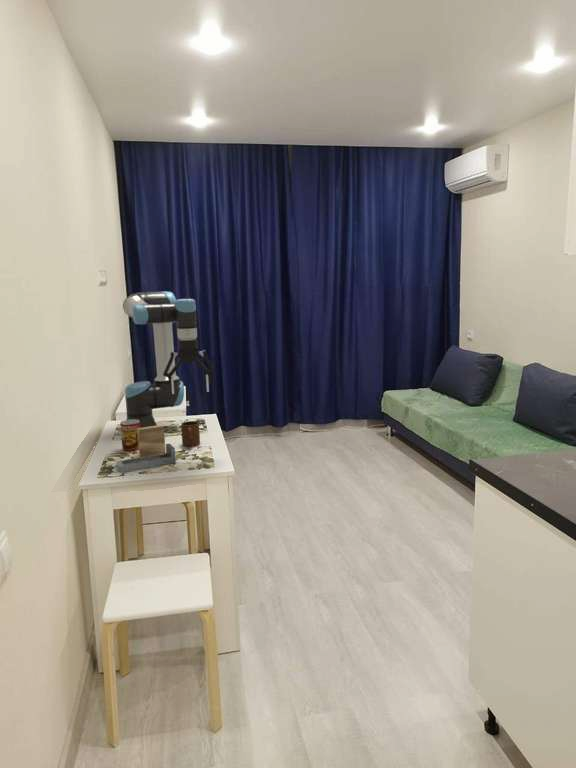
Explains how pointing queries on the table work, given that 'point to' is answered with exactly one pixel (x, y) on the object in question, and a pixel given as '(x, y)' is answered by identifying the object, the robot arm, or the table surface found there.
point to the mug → (190, 433)
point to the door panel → (151, 440)
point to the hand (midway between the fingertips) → (190, 392)
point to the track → (148, 460)
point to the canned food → (129, 435)
